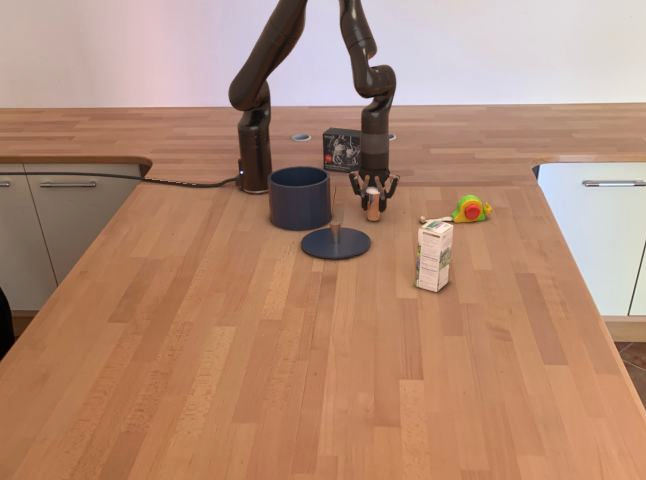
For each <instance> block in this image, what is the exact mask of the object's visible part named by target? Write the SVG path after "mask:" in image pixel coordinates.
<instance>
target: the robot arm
mask: <svg viewBox="0 0 646 480" xmlns="http://www.w3.org/2000/svg"><path fill="white" fill-rule="evenodd" d="M337 1H338V8H339V15H338V16H339V21H338V22H339V23H338V24H339V31H340V34H341V38H342V40H343V43H344V45H345V48H346V51H347V54H348V55H349V61H350V66H351V67H350V68H351V74H352V84H353V89H354V90H355V92H356V93H357V94H358V96H359V97H360V98H362V99H366V100H367V99H372V101H371V102H370V103H369V104H368V105H365V106H364V107H363V108H362V110H361V112H360V130H361V136H360V169H359V171H356V172H355V171H352V172H351V173H349V174H348V178H349V182H350V185H351V188H352V191H353V193H354V194H353V195H355V196H359V197H360V206H361V209H362V210H363V211H364V212H367V201H366V190H367V188H368V187H372V186H373V187H376V188H377V189H378V192H380V198H381V200H380V214H383V213H384V212H385V211H386V210H387V208H388V207H387V206H388V199H389V200H390V199H392V197H393V196H394V195H395V192H396V191H397V186H398V184H399V182H400V179H401V177H400V175H399V174H397V175H394V174H392V173H391V171H390V168H389V167H390V131H389V130H390V129H389V128H390V112H391V108H392V107H393V102H394V98H395V94H396V90H397V84H398V83H397V75H396V72H395V70H394V69H393V67H392V66H390V65H389V64H379V65H373V66H370V64H369V61H370V60H371V59H373V58H374V57H375V56H376V55H377V53H378V46H377V42H376V39H375V38H374V34H373V32H372V30H371V27H370V25H369V23H368V19H367V17H366V14H365V11H364V8H363V4H362V0H337ZM308 2H309V0H278V2H277V3H276V5H275V8H274V9H273V11H272V12H271V14H270V16H269V17H268V19H267V21H266V23H265V25H264V27H263V28H262V31H261V32H260V35H259V36H258V38H257V40H256V42H255V44H254V45H253V47H252V50H251V52H250V53H249V56H248V57H247V59H246V60H245V62H244V63H243V65H242V67H241V68H240V69H239V70H238V72H237V73H236V75H235V77H234V78H233V79H232V80H231V82H230V84H229V87H228V91H227V96H228V101H229V103H230V105H231V107H232V108H233V109H234V110H236V111H238V112H242V115H241V117H240V119H239V120H238V122H237V124H236V128H237V129H236V130H237V138H238V140H237V141H238V148H239V158H238V159H237V166H238V174H237V175H236V176H234V177H232V178H227V179H224V180H222V181H220V182H217V183H194V182H192V183H191V182H186V183H187V184H183V183H185V181H184V182H183V181H180V182H181V183H176V182H178V180H175V181H176V182H168V181H160V180H152V179H145V178H146V177H144V176H135V175H125V174H113V173H99V172H80V171H79V172H78V171H77V172H75V171H11V172H10V171H0V176H80V177H81V176H84V177H103V178H113V179H114V178H116V179H127V180H136V181H145V182H153V183H162V184H168V185H176V186H183V187H191V188H217V187H221V186H224V185H225V184H227V183H231V182H235V187H240V191H242V192H245V193H247V194H254V195H259V194H260V195H261V194H265V193H266V194H267V193H269V192H268V180H267V179H268V175H270V174H271V173H272V172H274V171H273V161H272V148H271V135H270V124H271V122H272V121H271V120H272V101H271V100H272V99H271V98H272V97H271V89H270V85H269V82H268V80H267V79H268V78H269V77H270V75H271V74H272V73H273V72H274V71H275V70H276V69H277V68H278V67H279V66H280V65H281V64H282V63H283V62H284V61H285V60H286V59H287V58H288V57H289V56H290V55H291V53H292V52H293V50H294V48H295V47H296V45H298V42H299V40H300V39H301V37H302V35H303V34H304V32H305V28H306V22H307V6H308ZM359 178H360V179H361V180H362V182H363V184H362V187H361V185H360V182H359ZM388 179H389V183H390V186H389V190H388V192H387V184H386V182H387V180H388ZM192 184H196V185H192ZM385 184H386V185H385ZM384 186H385V187H384Z"/></svg>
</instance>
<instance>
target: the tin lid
mask: <svg viewBox="0 0 646 480" xmlns="http://www.w3.org/2000/svg"><path fill="white" fill-rule="evenodd" d="M300 245H301V248H302V250H303V251H304V252H306V253H307V254H309V255H311V256H314V257H317V258H322V259H332V260H333V259H346V258H351V257H356V256H358V255H360V254H363V253H364V252H366V251H367V250H368V249H369V248H370V246H371V238H370V236H369V234H367V233H365V232H363V231H362V230H360V229H357V228H352V227H344V226H343V227H342V226H341V222H340V221H338V220H332V221H330V227H325V228H320V229H319V228H318V229H316V230H313V231H311V232H309V233H307V234H305V235H304V236H303V237H302V239H301V242H300Z"/></svg>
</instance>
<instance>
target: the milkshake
mask: <svg viewBox="0 0 646 480" xmlns="http://www.w3.org/2000/svg"><path fill="white" fill-rule="evenodd" d="M385 185H386V186H387V183H385ZM384 187H385V186H384ZM380 200H381V198H380V192H378V189H377V188H376V187H373V186H372V187H368V188H367V190H366V201H367V211H366V214H367V215H366V216H367V220H369V221H373V222H374V221H375V222H376V221H378V220H380V219H381V218H380V217H381V213H380Z"/></svg>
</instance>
